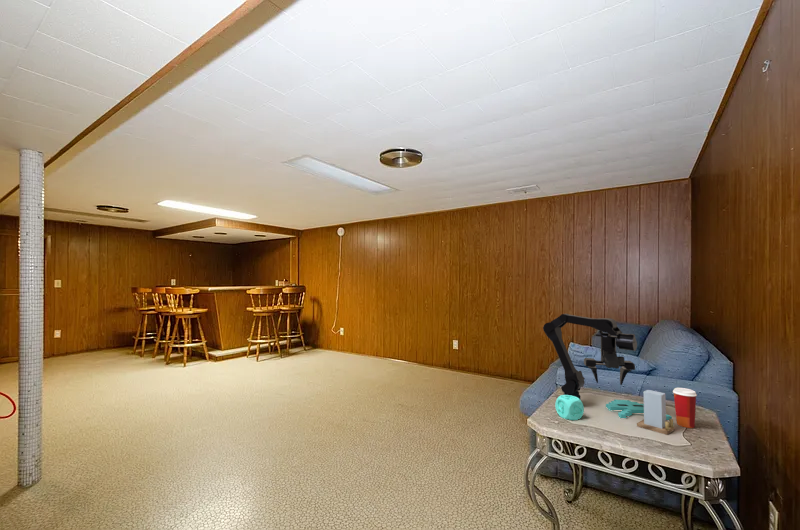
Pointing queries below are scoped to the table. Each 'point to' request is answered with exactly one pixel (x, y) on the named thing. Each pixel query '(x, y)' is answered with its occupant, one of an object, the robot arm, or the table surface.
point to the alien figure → (628, 408)
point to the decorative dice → (569, 407)
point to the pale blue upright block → (654, 408)
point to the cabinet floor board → (665, 430)
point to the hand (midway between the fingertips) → (608, 383)
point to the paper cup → (685, 407)
